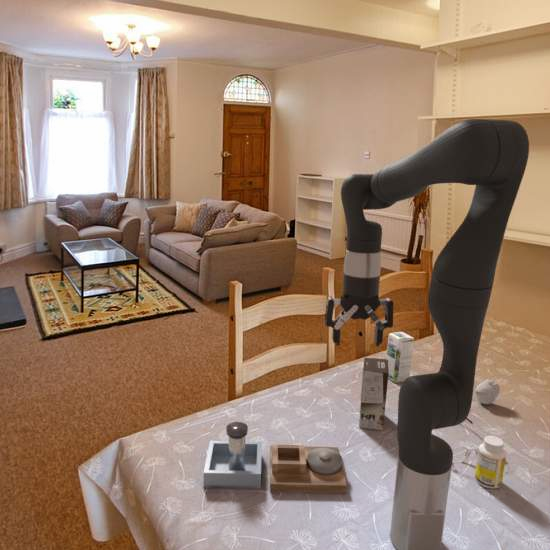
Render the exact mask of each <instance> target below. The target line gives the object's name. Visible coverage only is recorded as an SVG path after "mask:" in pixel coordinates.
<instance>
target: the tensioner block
mask: <svg viewBox="0 0 550 550" xmlns="http://www.w3.org/2000/svg"><path fill="white" fill-rule="evenodd" d="M347 488H348V483H347V481H346V476H345V471H344V466H343V457H342V455H341V453H340V449H339V446H305V445H304V444H271V445H270V446H269V493H287V494H288V493H292V494H294V493H295V494H297V493H298V494H340V495H346V494H347Z"/></svg>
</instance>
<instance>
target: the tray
mask: <svg viewBox="0 0 550 550" xmlns="http://www.w3.org/2000/svg"><path fill="white" fill-rule="evenodd" d="M262 446H263V441H245V470H244V471H231V470H229V440H209V444H208V448H207V454H206V458H205V464H204V469H203V488H204V489H206V488H207V489H240V490H242V489H247V490H249V489H251V490H252V489H253V490H256V489H257V490H261V488H262V487H261V485H262V484H261V483H262V454H263V453H262Z"/></svg>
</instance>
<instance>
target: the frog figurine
mask: <svg viewBox="0 0 550 550" xmlns="http://www.w3.org/2000/svg"><path fill="white" fill-rule="evenodd" d="M474 389H475V390H474V394H475V396H476V399H477V400H478V402H479V403H480V404H482V405H490V404H492V403H493V402H495V400H496V398H498V396H499V395H500V392H501V388H500V385H499V384H498V383H497V382H495V381H494V380H492V379H489V378H488V379H487V378H486V379H485V380H483V381H482V382H480V383H479V384H478V385H477V386H476V388H474Z"/></svg>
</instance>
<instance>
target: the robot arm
mask: <svg viewBox="0 0 550 550" xmlns="http://www.w3.org/2000/svg"><path fill="white" fill-rule="evenodd" d="M529 142H530V141H529V135H528V133H527V130H526V129H525V127H524V126H523V125H522V124H521V123H518V122H517V121H513V120H507V119H506V120H505V119H489V118H469V119H464V120H461V121H458V122H457V123H455V124H453V125H452V126H450V127H448V129H446V130H444V131H443V132H442V133H440V134H439V135H438V136H436V137H435V138H433V139H432V140H431V141H430V142H427V143H426V144H425V145H423V146H422V147H421V148H419V149H418V150H416V151H415V152H413V153H411V154H409V155H407V156H405V157H403V158H400V159H398V160H395V161H393V162H391V163H388V164H386V165H383V166H381V167H380V168H379V169H377V170H376V171H375V172H374V173H373V174H372V173H369V174H367V173H366V174H364V173H363V174H362V173H355V174H350V175H348V176H347V177H346V178H345V179H344V180H343V182H342V183H341V187H340V198H341V203H342V208H343V214H344V218H345V225H346V230H347V231H346V232H347V234H346V249H345V251H346V252H345V255H344V261H343V262H344V263H343V268H342V269H343V279H342V281H343V282H342V294H341V296H340V298H335V297H332V296H327V298H326V305H325V306H326V307H325V314H324V323H325V325H326V327H328V328H329V327H330V328H332V333H331V334H332V338H331V339H332V342H333V343H334V344H335V346H336V347H340V346H341V345H340V344H341V327H342V326H343V325H344V324H345V323H347V321H348V320H350V319H352V320H359V319H360V320H366V321H367V320H368V319H372V321H373V322H374V324H375V325H376V326H375V327H374V337H373V338H374V339H373V344H374V346H375V347H380V345H381V344H382V343H383V338H384V330H385V329H387V328H393V326H394V301H393V300H392V299H391V298H390V297H385V298H382V299H381V298H380V297H379V294H380V284H381V283H380V282H381V269H382V268H381V267H382V257H381V256H382V255H381V252H382V251H381V250H382V239H383V227H382V225H381V224H380V223H379V222H377V221H374V220H373V221H372V220H368V219H366V216H365V214H364V211H367V210H368V211H369V210H382V209H383V210H384V209H387V208H391V207H392V206H393V205H395V204H396V203H397V202H401V201H405V200H408V199H412V198H414V197H416V196H418V195H421V194H422V193H423V192H425V190H426V189H427V188H429V186H431V185H437V184H439V185H440V184H462V185H466V186H475V187H474V192H473V196H472V200H471V204H470V207H469V209H468V211H467V214H466V216H465V218H464V220H463V221H462V222H461V224H460V225H459V227H458V228H457V229H456V230H455V232H454V233H453V235H452V236H451V237H450V238H449V240H448V241H447V242H446V244H445V245H444V246H443V248H442V250H440V253H439V254H438V255H437V257H436V258H435V259H436V260H435V261H434V264H433V266H432V267H433V268H432V272H431V278H430V282H429V283H430V284H429V288H428V289H429V290H428V295H427V307H428V310H429V313H430V316H431V319H432V321H433V323H434V325H435V327H436V329H437V332H438V334H439V335H440V338H441V341H442V345H443V346H442V347H443V352H442V360H441V365H440V368H439V370H438V371H437V372H434V373H425V374H417V375H412V376H411V375H410V377H408V378H406V379H405V380H404V381H403V382H401V385H400V387H399V392H398V399H397V400H398V402H397V405H398V406H397V425H396V427H397V428H396V430H397V431H396V435H397V437H396V438H397V445H398V454H397V462H396V463H397V464H396V473H395V481H394V493H393V499H392V500H393V502H392V509H391V510H392V512H391V521H390V522H391V523H390V531H389V538H390V541H391V544H392V545H393V547H395V549H396V550H441V548H442V541H443V536H444V528H445V527H444V526H445V519H446V512H447V505H448V497H449V489H450V483H451V482H450V481H451V476H452V475H451V474H452V468H453V467H452V466H453V463H452V462H453V460H454V451H452V450H453V449H452V447H451V445H450V444H449V443H448V442H447V441H446V440H444V439H443V438H441V437H440V436H438V435H435V434H432V432H433V431H434V430H437V429H444V428H450V427H455V426H458V425H461V424H463V423H464V422H465V421H467V419H466V418H468V417H469V414H470V413H471V412H470V411H471V408H472V402H473V396H474V389H475V387H474V386H475V377H476V369H477V360H478V354H479V349H480V348H479V347H480V345H481V344H480V342H481V337H482V332H483V329H484V323H485V319H486V314H487V310H488V307H489V303H490V299H491V294H492V292H493V291H492V290H493V287H494V280H495V276H496V270H497V265H498V261H499V257H500V253H501V249H502V245H503V241H504V237H505V233H506V229H507V225H508V222H509V219H510V216H511V213H512V209H513V207H514V204H515V201H516V198H517V195H518V192H519V190H520V186H521V183H522V181H523V178H524V175H525V171H526V169H527V166H528V165H527V164H528V160H529V155H530V143H529ZM339 305H340V306H341V308H342V310H341V311H340V312H339V313H338V315H337V317H336V318H335V319H334V320H333V316H334V310H336V309H337V307H338V306H339ZM380 306H381V307H382V309H383V310H384V320H380V318H379V317H378V316H377V314H376V313H375V312H376V311H377V310H378V308H379V307H380Z"/></svg>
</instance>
